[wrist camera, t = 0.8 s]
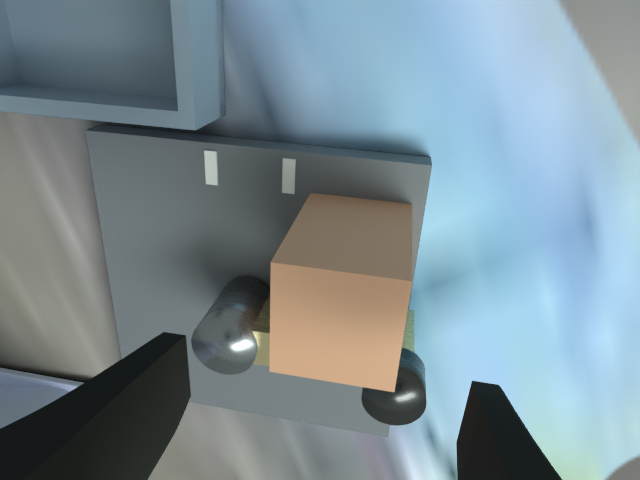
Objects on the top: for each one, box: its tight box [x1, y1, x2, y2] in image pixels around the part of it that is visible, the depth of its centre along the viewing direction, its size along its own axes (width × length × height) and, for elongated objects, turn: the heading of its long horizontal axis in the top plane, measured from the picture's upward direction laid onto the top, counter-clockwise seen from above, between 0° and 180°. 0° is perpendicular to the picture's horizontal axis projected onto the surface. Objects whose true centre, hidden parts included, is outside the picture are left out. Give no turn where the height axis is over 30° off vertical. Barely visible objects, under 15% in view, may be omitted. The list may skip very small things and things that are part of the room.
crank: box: [191, 276, 426, 425], centre depth 19 cm, size 9×3×5 cm, turn 87°
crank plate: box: [85, 125, 432, 437], centre depth 22 cm, size 14×14×1 cm
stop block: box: [269, 193, 412, 392], centre depth 17 cm, size 4×4×6 cm
